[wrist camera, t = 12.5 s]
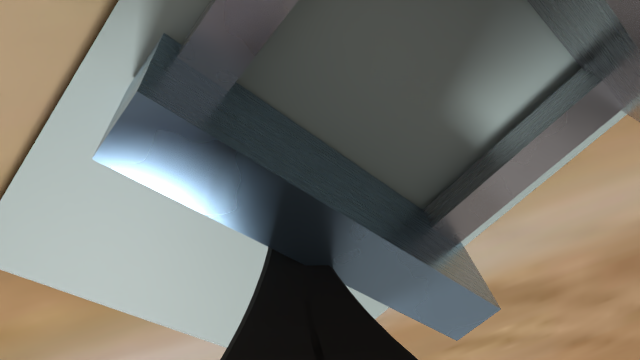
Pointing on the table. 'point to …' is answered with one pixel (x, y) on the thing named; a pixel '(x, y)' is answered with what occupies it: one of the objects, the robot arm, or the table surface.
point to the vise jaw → (341, 173)
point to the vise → (298, 105)
